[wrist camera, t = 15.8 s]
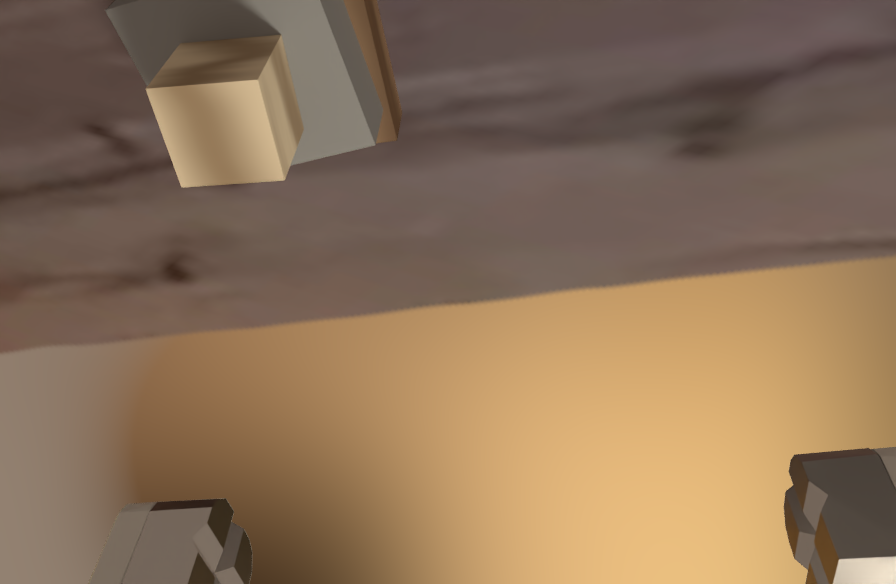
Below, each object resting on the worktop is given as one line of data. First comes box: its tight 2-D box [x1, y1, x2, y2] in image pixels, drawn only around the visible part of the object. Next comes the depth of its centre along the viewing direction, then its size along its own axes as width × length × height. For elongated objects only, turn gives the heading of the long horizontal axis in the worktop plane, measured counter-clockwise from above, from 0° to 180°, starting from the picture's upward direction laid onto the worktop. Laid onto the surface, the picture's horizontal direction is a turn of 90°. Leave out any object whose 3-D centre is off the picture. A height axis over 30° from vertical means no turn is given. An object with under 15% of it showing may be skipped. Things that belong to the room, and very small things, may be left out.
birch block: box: [146, 35, 304, 187], centre depth 38 cm, size 5×5×5 cm
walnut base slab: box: [343, 0, 402, 143], centre depth 44 cm, size 12×12×4 cm
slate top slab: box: [105, 0, 383, 165], centre depth 41 cm, size 10×10×4 cm
